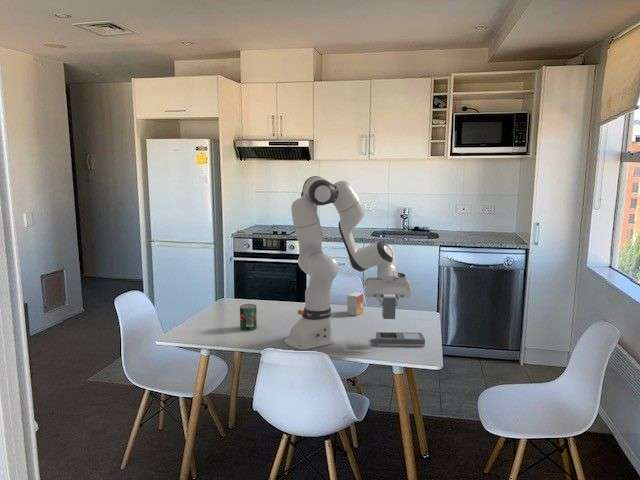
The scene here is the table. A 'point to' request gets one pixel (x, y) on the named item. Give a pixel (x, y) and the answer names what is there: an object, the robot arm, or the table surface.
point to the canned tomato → (248, 317)
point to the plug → (389, 306)
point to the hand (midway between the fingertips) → (389, 305)
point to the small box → (355, 304)
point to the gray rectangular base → (399, 339)
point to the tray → (387, 330)
